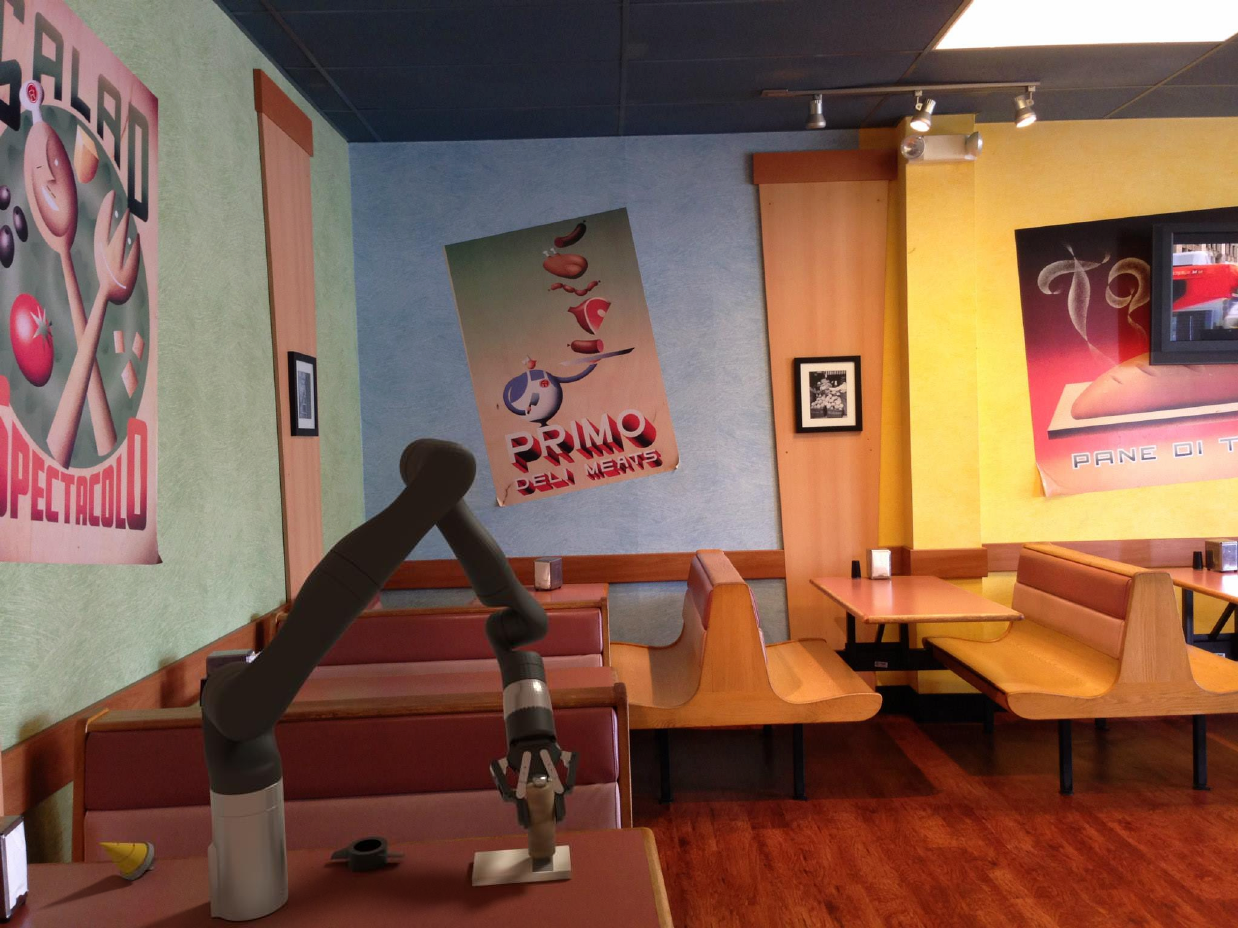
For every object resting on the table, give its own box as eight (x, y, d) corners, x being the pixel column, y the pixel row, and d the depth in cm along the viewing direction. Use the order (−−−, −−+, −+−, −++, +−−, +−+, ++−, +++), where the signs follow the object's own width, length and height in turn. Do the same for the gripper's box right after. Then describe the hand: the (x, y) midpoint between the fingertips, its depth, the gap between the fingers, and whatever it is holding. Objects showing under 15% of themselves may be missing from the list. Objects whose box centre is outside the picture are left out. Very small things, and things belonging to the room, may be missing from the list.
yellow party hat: (163, 879, 135) (109, 854, 129) (135, 891, 136) (80, 867, 130) (172, 845, 139) (119, 818, 133) (145, 857, 140) (91, 831, 134)
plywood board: (472, 885, 129) (472, 876, 129) (475, 859, 137) (475, 851, 137) (571, 878, 131) (571, 869, 131) (569, 853, 138) (568, 844, 138)
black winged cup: (367, 884, 131) (366, 864, 131) (326, 865, 137) (325, 846, 137) (410, 863, 137) (409, 844, 137) (369, 845, 143) (368, 827, 143)
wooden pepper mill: (529, 859, 132) (526, 783, 131) (527, 846, 136) (525, 773, 135) (556, 857, 133) (554, 781, 132) (554, 844, 136) (552, 770, 136)
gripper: (483, 709, 139) (494, 821, 128) (576, 699, 142) (594, 808, 131) (481, 731, 144) (492, 841, 133) (571, 722, 147) (588, 828, 136)
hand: (543, 824), depth 132 cm, fingers open, 4 cm apart
